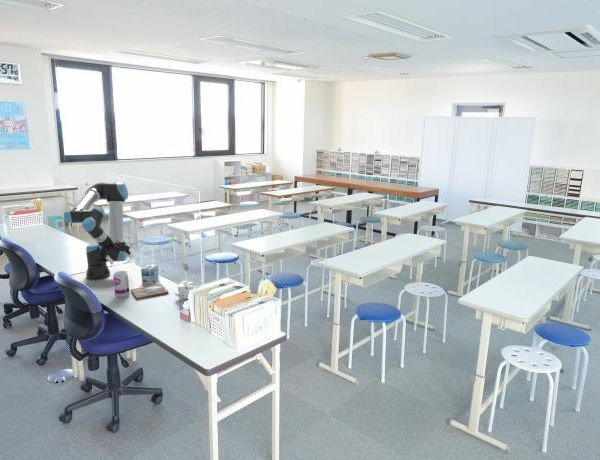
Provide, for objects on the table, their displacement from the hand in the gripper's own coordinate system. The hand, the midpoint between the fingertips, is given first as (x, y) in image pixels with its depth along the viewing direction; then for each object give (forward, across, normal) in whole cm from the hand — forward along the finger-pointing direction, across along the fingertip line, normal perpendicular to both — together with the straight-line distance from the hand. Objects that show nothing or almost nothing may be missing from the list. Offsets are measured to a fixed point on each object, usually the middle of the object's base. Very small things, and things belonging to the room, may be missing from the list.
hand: (122, 260), depth 286 cm
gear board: (+15, +15, -20) cm, 29 cm away
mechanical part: (+17, +39, -31) cm, 53 cm away
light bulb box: (+23, +7, -2) cm, 24 cm away
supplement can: (+8, +1, -24) cm, 25 cm away
